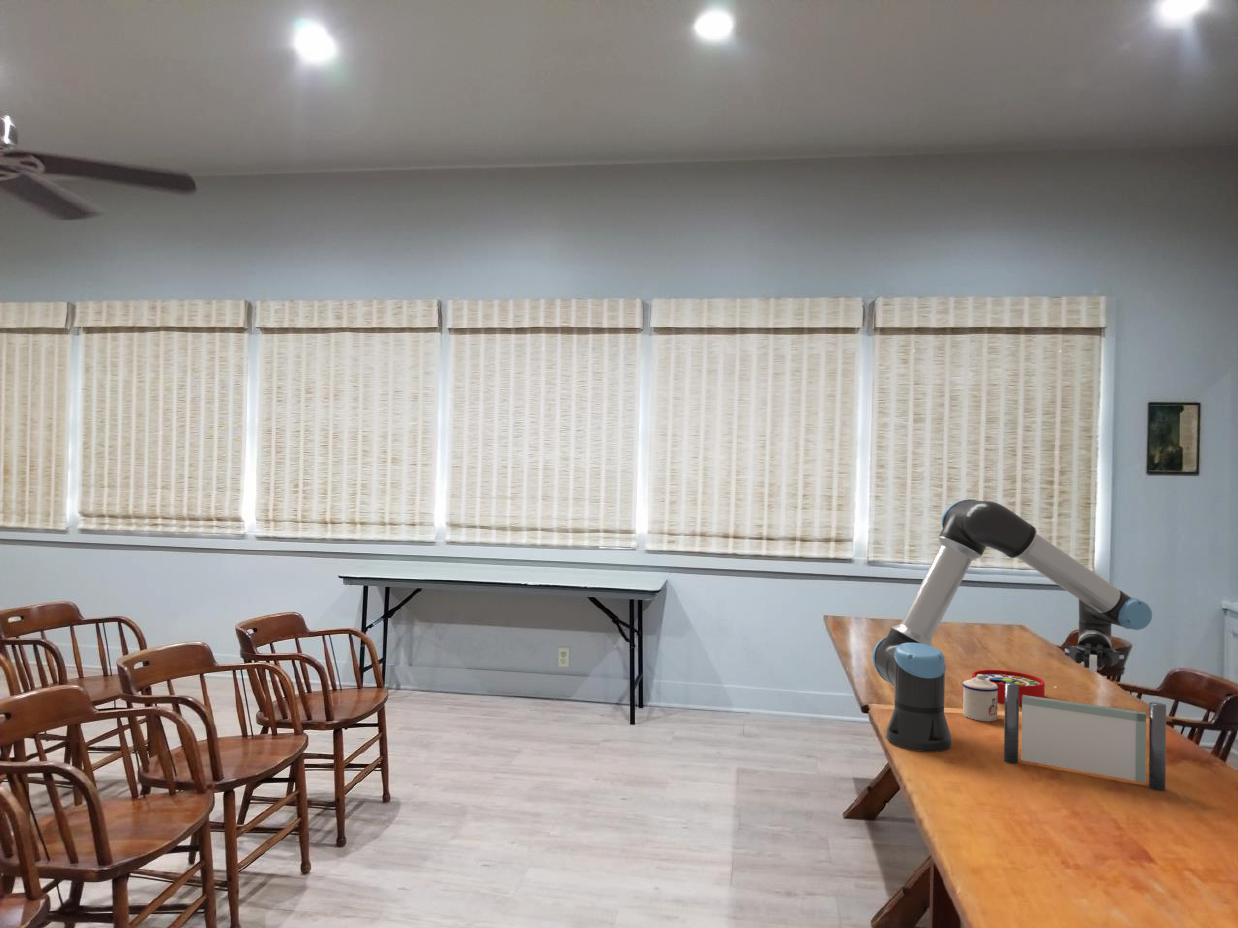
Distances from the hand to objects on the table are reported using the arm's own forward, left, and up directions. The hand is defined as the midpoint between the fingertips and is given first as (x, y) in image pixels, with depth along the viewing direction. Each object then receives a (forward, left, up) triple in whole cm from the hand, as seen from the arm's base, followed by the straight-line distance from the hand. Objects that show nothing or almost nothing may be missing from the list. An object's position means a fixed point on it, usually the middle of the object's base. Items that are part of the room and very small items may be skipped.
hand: (1092, 665), depth 185 cm
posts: (-2, -8, -23) cm, 24 cm away
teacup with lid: (-27, +28, -23) cm, 46 cm away
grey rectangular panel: (-2, -8, -22) cm, 23 cm away
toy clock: (-23, +56, -24) cm, 65 cm away
